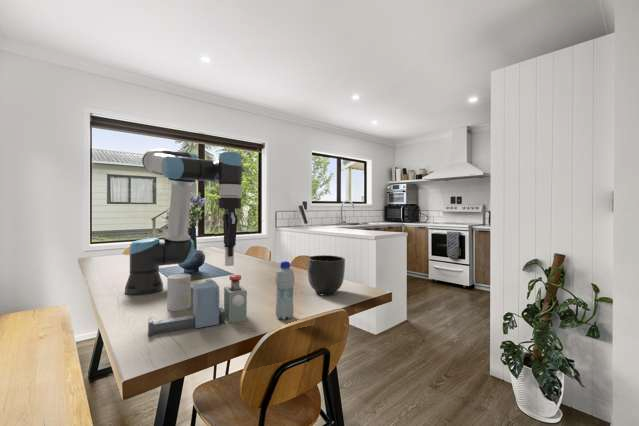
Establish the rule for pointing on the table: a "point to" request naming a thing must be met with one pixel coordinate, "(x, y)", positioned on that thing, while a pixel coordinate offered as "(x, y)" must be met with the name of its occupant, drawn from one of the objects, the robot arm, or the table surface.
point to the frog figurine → (208, 281)
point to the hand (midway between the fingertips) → (229, 265)
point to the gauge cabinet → (235, 304)
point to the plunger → (235, 282)
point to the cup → (178, 292)
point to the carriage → (206, 304)
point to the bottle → (284, 291)
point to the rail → (176, 323)
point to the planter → (326, 273)
